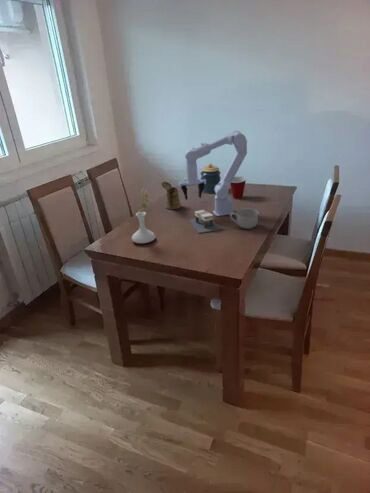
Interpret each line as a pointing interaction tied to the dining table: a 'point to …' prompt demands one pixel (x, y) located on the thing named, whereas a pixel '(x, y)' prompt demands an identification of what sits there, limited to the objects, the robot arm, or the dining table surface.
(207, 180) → the canister
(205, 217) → the cream block with tabs
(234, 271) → the dining table surface
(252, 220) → the teacup
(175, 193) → the wooden mug
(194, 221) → the mat
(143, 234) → the flower in vase
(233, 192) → the plastic cup
